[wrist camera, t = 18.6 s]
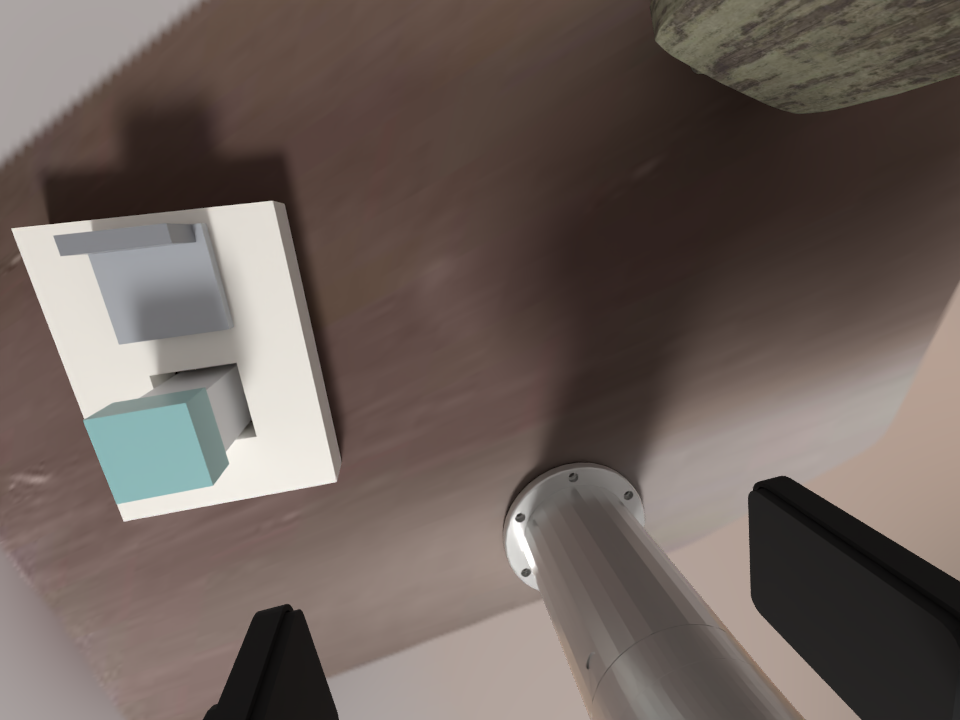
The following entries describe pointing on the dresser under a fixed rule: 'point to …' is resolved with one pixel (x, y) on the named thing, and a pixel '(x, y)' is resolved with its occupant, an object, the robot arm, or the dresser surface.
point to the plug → (171, 434)
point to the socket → (204, 349)
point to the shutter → (155, 279)
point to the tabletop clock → (813, 47)
